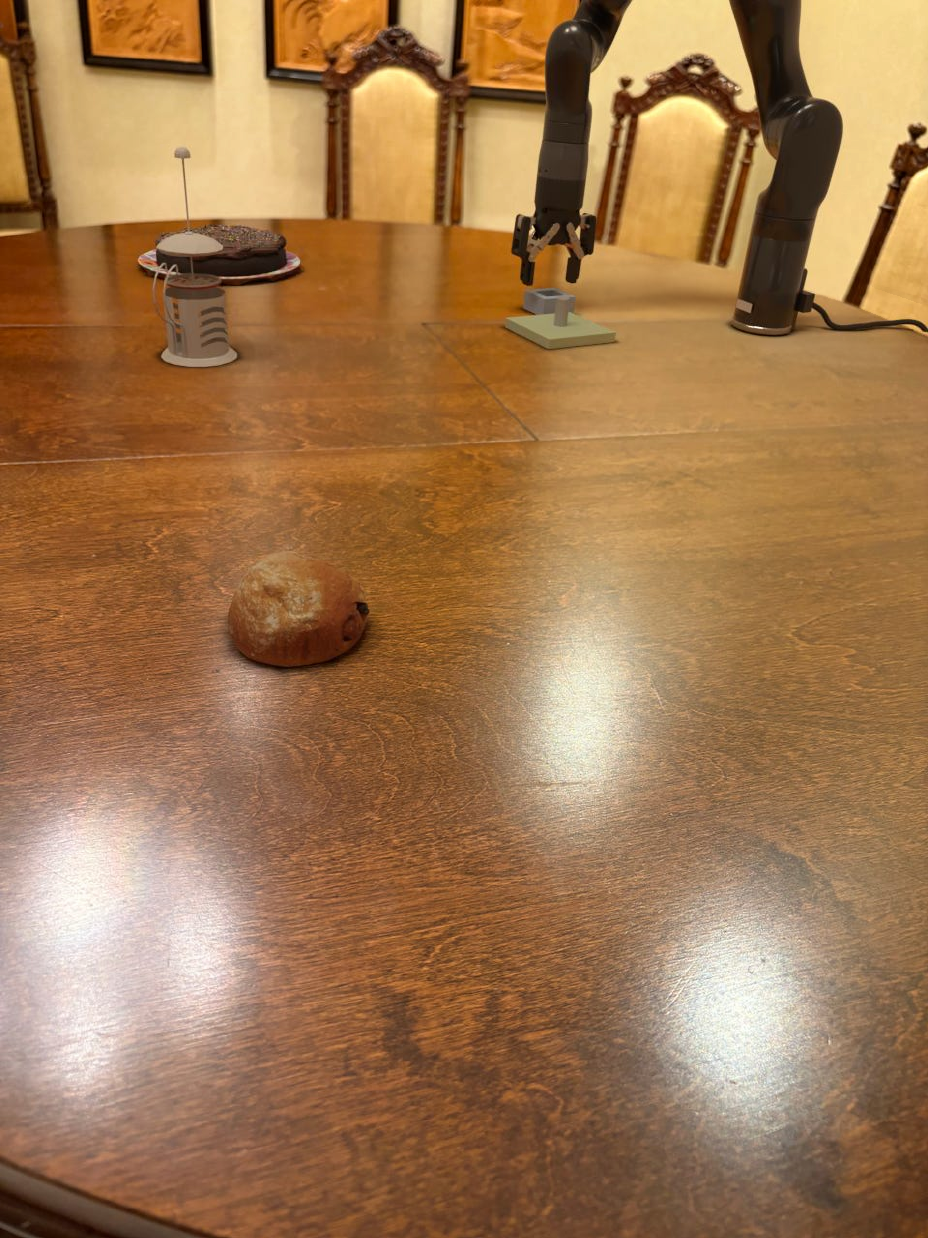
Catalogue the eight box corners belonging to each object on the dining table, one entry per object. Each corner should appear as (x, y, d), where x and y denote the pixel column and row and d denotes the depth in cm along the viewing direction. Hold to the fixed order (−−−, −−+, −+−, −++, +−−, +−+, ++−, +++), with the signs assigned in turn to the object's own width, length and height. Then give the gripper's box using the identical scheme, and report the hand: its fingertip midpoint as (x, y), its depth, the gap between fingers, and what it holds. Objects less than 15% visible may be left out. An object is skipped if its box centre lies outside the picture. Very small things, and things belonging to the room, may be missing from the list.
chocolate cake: (103, 270, 164) (98, 229, 161) (201, 244, 187) (198, 207, 183) (245, 294, 156) (242, 252, 153) (329, 264, 179) (329, 226, 175)
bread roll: (263, 635, 79) (214, 556, 74) (379, 589, 77) (335, 506, 73) (251, 709, 70) (194, 625, 66) (380, 659, 69) (330, 570, 65)
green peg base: (568, 321, 154) (573, 285, 151) (614, 342, 146) (619, 304, 143) (504, 327, 149) (507, 290, 146) (548, 349, 140) (552, 310, 137)
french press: (252, 352, 130) (240, 147, 117) (197, 375, 121) (178, 155, 108) (193, 340, 134) (175, 139, 120) (135, 361, 125) (109, 146, 111)
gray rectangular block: (552, 305, 162) (554, 287, 161) (573, 315, 158) (575, 296, 156) (522, 308, 159) (524, 289, 158) (542, 317, 155) (544, 298, 154)
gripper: (536, 177, 141) (525, 291, 150) (613, 177, 148) (598, 286, 156) (509, 170, 147) (499, 280, 155) (584, 170, 153) (571, 276, 162)
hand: (549, 283), depth 156 cm, fingers open, 8 cm apart
